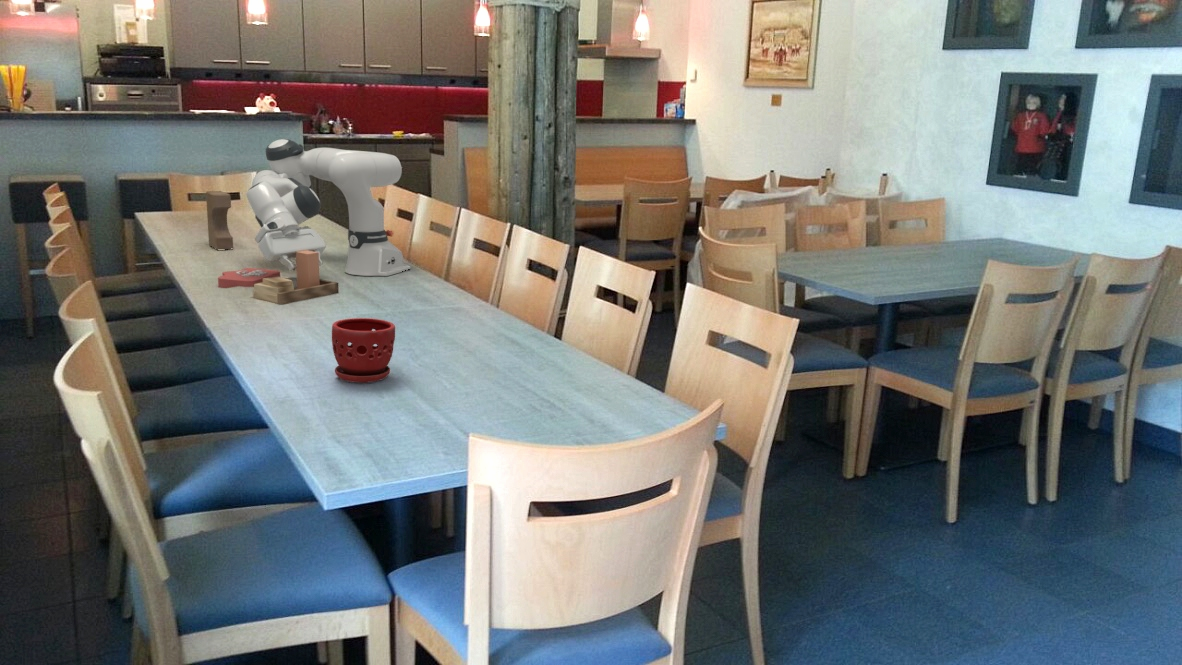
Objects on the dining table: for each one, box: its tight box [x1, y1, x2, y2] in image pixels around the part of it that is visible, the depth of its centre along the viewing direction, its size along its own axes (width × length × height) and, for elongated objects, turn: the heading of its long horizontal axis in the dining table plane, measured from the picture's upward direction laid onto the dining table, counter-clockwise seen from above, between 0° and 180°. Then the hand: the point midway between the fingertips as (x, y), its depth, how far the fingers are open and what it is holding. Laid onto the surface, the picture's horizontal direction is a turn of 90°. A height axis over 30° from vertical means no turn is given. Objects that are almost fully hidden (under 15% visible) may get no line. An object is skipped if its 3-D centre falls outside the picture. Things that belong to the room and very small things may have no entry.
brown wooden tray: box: [249, 278, 340, 305], centre depth 269 cm, size 21×13×4 cm, turn 147°
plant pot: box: [331, 317, 396, 384], centre depth 201 cm, size 13×13×12 cm
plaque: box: [217, 267, 281, 289], centre depth 286 cm, size 18×4×15 cm
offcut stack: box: [252, 276, 295, 304], centre depth 263 cm, size 7×11×6 cm, turn 57°
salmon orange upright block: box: [295, 250, 320, 289], centre depth 271 cm, size 4×5×12 cm
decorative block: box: [205, 190, 234, 250], centre depth 338 cm, size 11×6×20 cm, turn 36°
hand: (306, 267), depth 271 cm, fingers open, 8 cm apart
